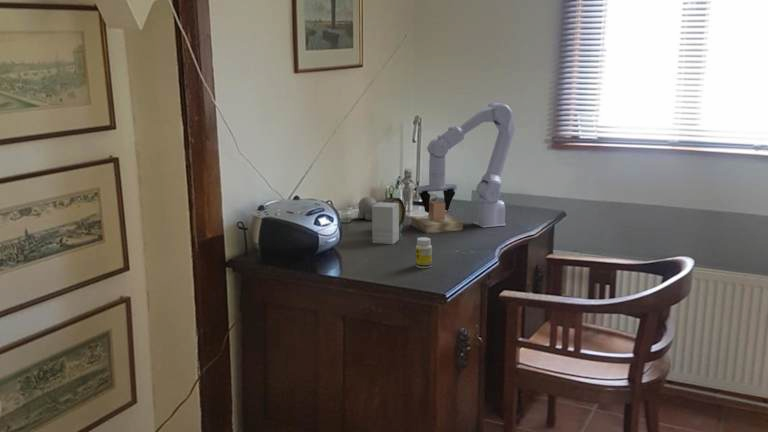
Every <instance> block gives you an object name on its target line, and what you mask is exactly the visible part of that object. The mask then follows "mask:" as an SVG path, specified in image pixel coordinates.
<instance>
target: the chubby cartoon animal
mask: <svg viewBox="0 0 768 432" xmlns="http://www.w3.org/2000/svg"><path fill="white" fill-rule="evenodd" d="M383 201H384V200H381V201H380V202H383ZM376 203H378V202H377V200H376V199H375V198H374V197H371V196H364V197H362V198H361V199H360V201H359V203H358V206H357V207H358V213H357V219H360V220H363V219H365V220H366V221H372V206H373V205H375V204H376Z"/></svg>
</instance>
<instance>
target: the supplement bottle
mask: <svg viewBox="0 0 768 432" xmlns="http://www.w3.org/2000/svg"><path fill="white" fill-rule="evenodd" d="M431 240H432V239H431V238H429V237H424V236H423V237H417V239H416V245H415V266H416V268H419V269H428V268H429V267H430V268H431V267H432V266H433V264H432V263H433V259H432V257H433V256H432V255H433V254H432V253H433V247H432V246H433V245H431V242H432V241H431Z"/></svg>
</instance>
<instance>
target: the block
mask: <svg viewBox="0 0 768 432" xmlns="http://www.w3.org/2000/svg"><path fill="white" fill-rule="evenodd" d="M427 214H428V218H429V219H431V220H433V221H435V220H445V214H446V210H445V203H444V201H442V200H434V201H433V200H432V201H429V212H427Z"/></svg>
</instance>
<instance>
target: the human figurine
mask: <svg viewBox="0 0 768 432" xmlns="http://www.w3.org/2000/svg"><path fill="white" fill-rule="evenodd" d="M403 171H404V174H403V175H404V177H402V180H401V181H400V182H399V183H398V184H397V185H396V186H394V190H396V189H397V188H398V187H399V186H400V185H401V184H403V185H404V186H403V189H402V197H403V201H404V202H403V204H404V208H405V216H406V217H410V214H411V211H410V210H411V199H412V193H413V189H412V188H411V187H410V184H411V183H412V184H413V185H414V187H416V188H417V187H419V186H418V184H416V183H415V181H414V180H413V179H412V178H413V177H412V170H411V168H404V170H403ZM407 205H408V206H407ZM407 212H408V213H407Z"/></svg>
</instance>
